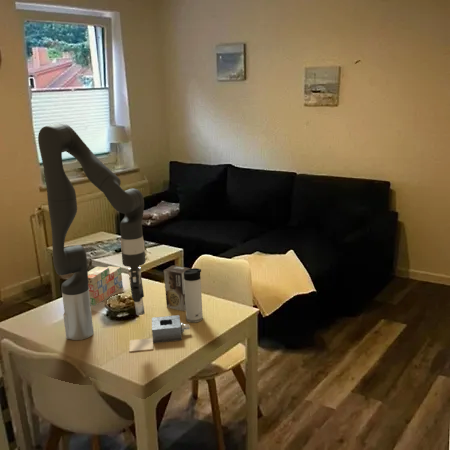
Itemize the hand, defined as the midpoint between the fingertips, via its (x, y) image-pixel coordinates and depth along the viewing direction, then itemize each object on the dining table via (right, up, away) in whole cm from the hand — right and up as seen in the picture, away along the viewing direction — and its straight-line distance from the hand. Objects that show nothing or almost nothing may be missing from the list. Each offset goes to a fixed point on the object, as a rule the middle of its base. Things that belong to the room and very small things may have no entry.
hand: (137, 298), depth 179 cm
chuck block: (+10, -15, +12) cm, 21 cm away
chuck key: (+1, -5, +1) cm, 5 cm away
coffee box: (+11, -8, +35) cm, 38 cm away
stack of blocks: (-23, -6, +50) cm, 56 cm away
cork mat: (+1, -17, +5) cm, 18 cm away
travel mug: (+18, -11, +23) cm, 32 cm away
